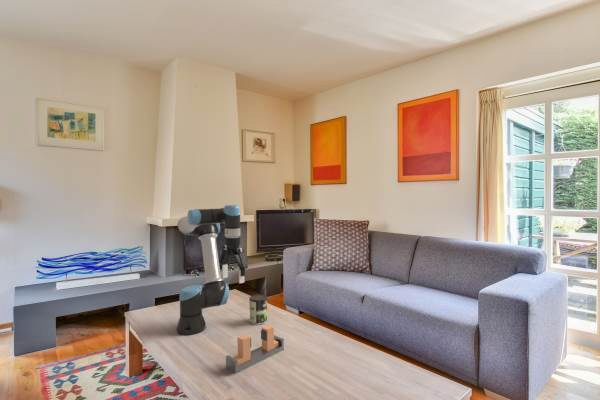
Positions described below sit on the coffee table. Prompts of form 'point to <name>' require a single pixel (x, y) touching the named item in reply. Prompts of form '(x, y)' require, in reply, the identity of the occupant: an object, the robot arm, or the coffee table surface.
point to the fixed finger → (268, 338)
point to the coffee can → (258, 309)
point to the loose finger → (243, 349)
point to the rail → (254, 357)
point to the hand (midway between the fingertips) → (233, 280)
